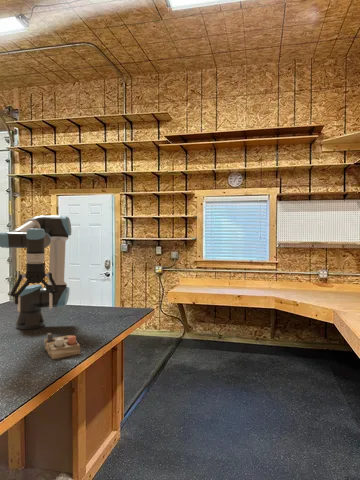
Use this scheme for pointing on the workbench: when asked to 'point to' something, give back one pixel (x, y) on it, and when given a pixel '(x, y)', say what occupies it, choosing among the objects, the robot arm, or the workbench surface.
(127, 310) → the workbench surface
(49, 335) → the fader knob
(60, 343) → the button
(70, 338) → the button
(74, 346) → the console
